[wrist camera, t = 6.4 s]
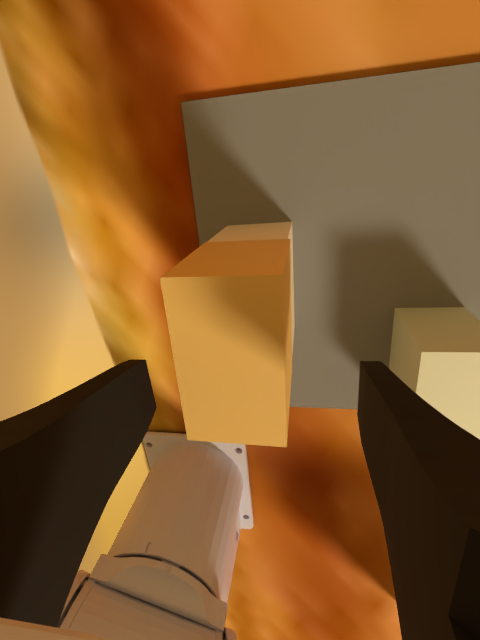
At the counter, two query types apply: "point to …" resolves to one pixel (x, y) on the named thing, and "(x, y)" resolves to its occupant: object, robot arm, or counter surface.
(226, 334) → the mustard block
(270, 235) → the cream block
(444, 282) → the rubber mat
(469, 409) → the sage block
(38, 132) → the counter surface
